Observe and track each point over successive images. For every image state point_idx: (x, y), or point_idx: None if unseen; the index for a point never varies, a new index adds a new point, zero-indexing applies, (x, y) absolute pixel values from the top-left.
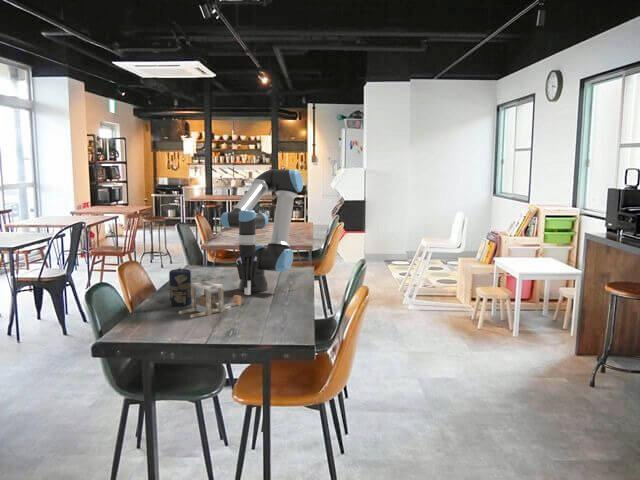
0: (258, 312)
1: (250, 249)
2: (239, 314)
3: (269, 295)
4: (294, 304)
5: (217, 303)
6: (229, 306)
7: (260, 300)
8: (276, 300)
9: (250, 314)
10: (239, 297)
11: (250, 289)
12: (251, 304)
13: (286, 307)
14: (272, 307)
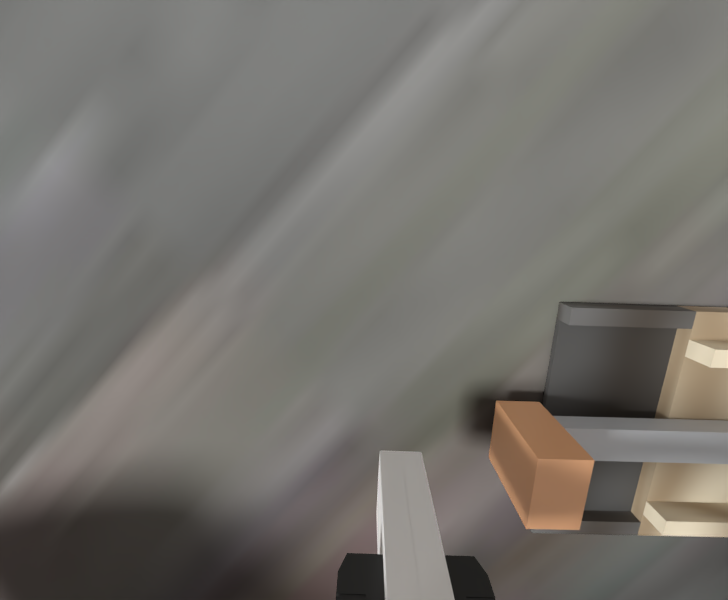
0: (545, 94)
1: None
2: (717, 185)
3: (15, 523)
4: (11, 54)
5: (679, 528)
6: (717, 364)
7: (196, 446)
8: (73, 342)
9: (658, 94)
10: (557, 450)
11: (385, 505)
12: (357, 395)
13: (174, 16)
14: (292, 147)
